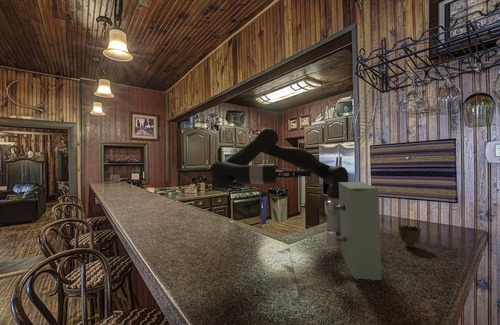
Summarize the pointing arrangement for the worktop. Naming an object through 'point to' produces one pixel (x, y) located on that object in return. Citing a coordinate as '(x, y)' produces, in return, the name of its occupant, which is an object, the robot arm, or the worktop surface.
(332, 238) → the lower knob
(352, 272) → the block
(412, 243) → the cup
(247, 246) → the worktop surface
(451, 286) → the worktop surface
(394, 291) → the worktop surface
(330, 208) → the upper knob
